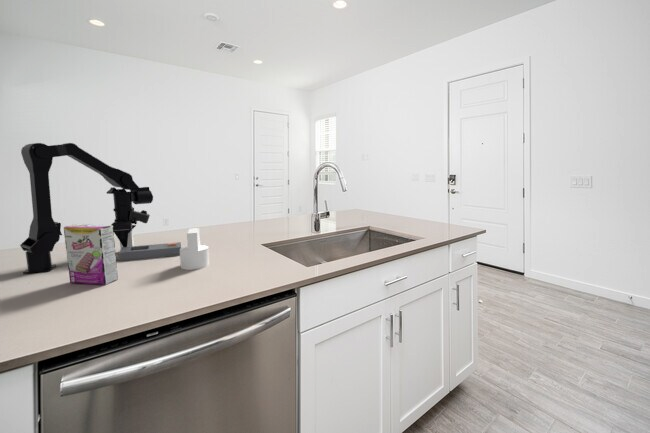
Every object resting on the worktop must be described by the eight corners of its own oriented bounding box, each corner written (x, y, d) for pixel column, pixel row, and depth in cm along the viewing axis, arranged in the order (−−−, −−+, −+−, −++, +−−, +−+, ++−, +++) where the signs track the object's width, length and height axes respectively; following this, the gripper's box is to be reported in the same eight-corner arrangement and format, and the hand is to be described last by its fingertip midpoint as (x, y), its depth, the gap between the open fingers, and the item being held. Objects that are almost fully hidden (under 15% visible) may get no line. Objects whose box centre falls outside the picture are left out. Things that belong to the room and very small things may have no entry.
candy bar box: (68, 284, 87) (61, 226, 85) (84, 278, 92) (78, 223, 89) (105, 285, 86) (99, 227, 83) (119, 279, 91) (114, 224, 88)
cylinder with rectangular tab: (182, 262, 108) (180, 228, 106) (210, 260, 110) (208, 227, 109) (178, 270, 99) (176, 233, 97) (208, 268, 102) (206, 232, 100)
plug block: (133, 252, 121) (131, 231, 120) (121, 253, 119) (119, 232, 118) (134, 250, 124) (132, 229, 123) (122, 251, 123) (120, 230, 122)
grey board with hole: (198, 253, 120) (197, 243, 120) (119, 261, 109) (118, 250, 109) (197, 247, 128) (196, 238, 128) (123, 254, 117) (122, 245, 117)
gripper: (145, 205, 114) (148, 247, 115) (149, 203, 130) (152, 239, 132) (108, 207, 109) (112, 250, 111) (118, 204, 126) (121, 242, 128)
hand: (126, 245), depth 120 cm, fingers open, 7 cm apart
